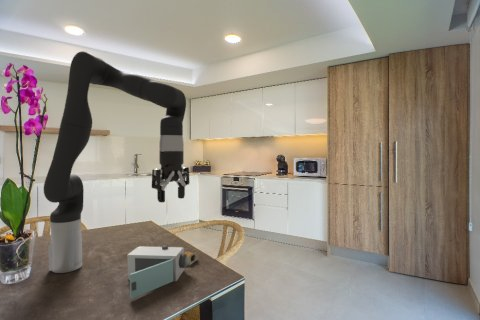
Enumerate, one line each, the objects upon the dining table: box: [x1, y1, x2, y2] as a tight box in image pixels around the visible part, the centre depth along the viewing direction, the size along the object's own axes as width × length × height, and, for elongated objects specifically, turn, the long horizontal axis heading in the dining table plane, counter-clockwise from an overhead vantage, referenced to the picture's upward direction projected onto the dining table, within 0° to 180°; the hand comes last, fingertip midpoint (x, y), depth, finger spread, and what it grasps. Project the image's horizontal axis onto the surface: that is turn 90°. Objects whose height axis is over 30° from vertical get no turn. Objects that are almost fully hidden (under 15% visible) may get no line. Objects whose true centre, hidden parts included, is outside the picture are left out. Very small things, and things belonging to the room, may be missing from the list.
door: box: [129, 258, 177, 300], centre depth 84 cm, size 15×1×7 cm, turn 139°
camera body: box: [126, 244, 188, 282], centre depth 95 cm, size 18×8×9 cm, turn 84°
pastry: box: [184, 251, 198, 267], centre depth 107 cm, size 9×7×4 cm
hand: (171, 200), depth 92 cm, fingers open, 8 cm apart
